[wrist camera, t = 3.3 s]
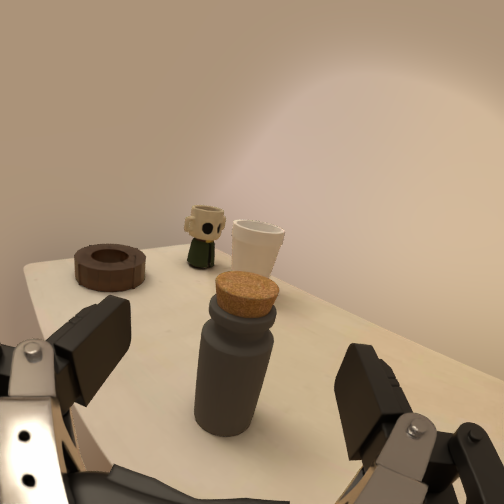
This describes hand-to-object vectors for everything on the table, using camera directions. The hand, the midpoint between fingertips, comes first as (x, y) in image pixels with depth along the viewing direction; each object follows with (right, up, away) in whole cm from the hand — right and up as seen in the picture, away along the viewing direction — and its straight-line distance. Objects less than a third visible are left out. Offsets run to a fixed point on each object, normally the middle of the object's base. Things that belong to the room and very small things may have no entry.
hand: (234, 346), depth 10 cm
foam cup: (0, -5, +46) cm, 46 cm away
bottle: (-2, -13, +16) cm, 21 cm away
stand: (-27, -1, +40) cm, 48 cm away
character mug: (-11, 0, +55) cm, 56 cm away
